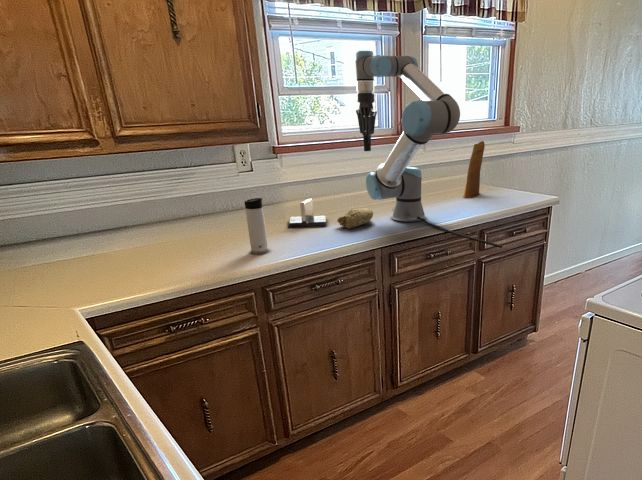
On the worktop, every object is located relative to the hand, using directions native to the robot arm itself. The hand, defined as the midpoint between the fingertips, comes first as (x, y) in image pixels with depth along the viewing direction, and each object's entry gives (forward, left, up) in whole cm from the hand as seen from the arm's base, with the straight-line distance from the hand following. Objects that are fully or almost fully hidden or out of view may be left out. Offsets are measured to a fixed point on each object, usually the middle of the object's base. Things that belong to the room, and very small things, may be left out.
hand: (367, 150), depth 234 cm
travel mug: (-21, +66, -30) cm, 75 cm away
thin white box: (+6, +30, -27) cm, 41 cm away
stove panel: (+6, +30, -29) cm, 42 cm away
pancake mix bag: (+4, -74, -30) cm, 80 cm away
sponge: (-9, +13, -30) cm, 34 cm away
